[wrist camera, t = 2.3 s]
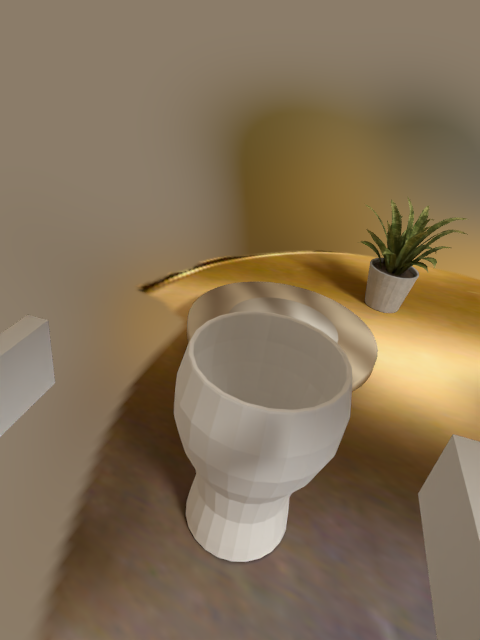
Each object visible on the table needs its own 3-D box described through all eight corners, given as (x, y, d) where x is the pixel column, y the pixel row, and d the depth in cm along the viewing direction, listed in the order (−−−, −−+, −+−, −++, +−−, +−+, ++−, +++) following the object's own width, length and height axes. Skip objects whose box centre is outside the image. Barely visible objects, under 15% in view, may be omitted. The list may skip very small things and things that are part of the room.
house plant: (455, 320, 64) (505, 215, 55) (402, 343, 56) (451, 225, 48) (380, 279, 73) (413, 184, 64) (325, 294, 65) (355, 188, 57)
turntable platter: (310, 286, 62) (312, 276, 62) (414, 380, 46) (420, 369, 45) (164, 298, 54) (165, 287, 53) (229, 421, 37) (231, 408, 36)
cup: (138, 545, 29) (140, 376, 21) (201, 438, 38) (220, 291, 30) (286, 613, 27) (351, 452, 19) (317, 483, 35) (370, 335, 27)
